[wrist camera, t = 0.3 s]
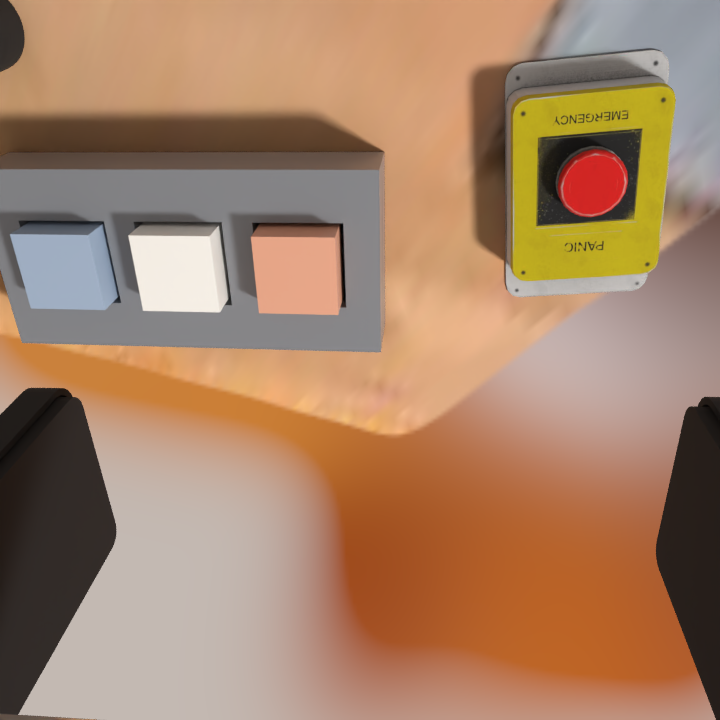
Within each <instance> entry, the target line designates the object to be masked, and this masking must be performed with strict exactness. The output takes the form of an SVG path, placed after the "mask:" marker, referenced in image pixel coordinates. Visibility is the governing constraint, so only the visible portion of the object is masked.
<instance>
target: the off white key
mask: <svg viewBox="0 0 720 720" xmlns="http://www.w3.org/2000/svg"><path fill="white" fill-rule="evenodd" d="M128 237H129V242H130V247H131V252H132V257H133V262H134V267H135V272H136V277H137V282H138V287H139V293H140V298H141V303H142V308H143V311H173V312H221V310H222V308H223V307H224V305H225V303H226V302H227V300H228V299H229V297H230V295H231V293H230V286H229V278H228V270H227V262H226V254H225V246H224V238H223V230H222V222H143V223H142V224H141V225H140V226H139V227H137V228H136V229H135V230H134V231H133V232H132V233H131V234H129V235H128Z"/></svg>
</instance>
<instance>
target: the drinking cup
mask: <svg viewBox="0 0 720 720" xmlns="http://www.w3.org/2000/svg"><path fill="white" fill-rule="evenodd" d="M23 48H24V30H23V26H22V23H21V20H20V17H19V15H18V13H17V11H16V10H15V8H14V7H13V5H12V4H11V3H10V2H9V1H8V0H0V72H1V71H3V70H5V69H8V68H10V67H11V66H13V65H14V64H15V63H16V62H17V61H18V59H19V58H20V56H21V54H22V52H23Z"/></svg>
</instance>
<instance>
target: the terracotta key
mask: <svg viewBox="0 0 720 720" xmlns="http://www.w3.org/2000/svg"><path fill="white" fill-rule="evenodd" d="M251 243H252V252H253V262H254V271H255V281H256V290H257V300H258V309H259V313H268V314H315V315H338V314H339V310H340V307H341V303H342V300H343V296H344V287H343V260H342V233H341V223H260V224H259V226H258V227H257V229H256V230H255V231H254V233H253V234H252V236H251Z"/></svg>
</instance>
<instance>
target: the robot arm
mask: <svg viewBox="0 0 720 720" xmlns="http://www.w3.org/2000/svg"><path fill="white" fill-rule="evenodd" d="M115 539H116V523H115V519H114V516H113V512H112V509H111V505H110V502H109V498H108V494H107V491H106V487H105V484H104V480H103V476H102V473H101V469H100V466H99V462H98V459H97V455H96V451H95V448H94V444H93V441H92V437H91V433H90V430H89V426H88V423H87V419H86V416H85V412H84V408H83V405H82V403H81V401H80V400H79V399H78V398H76V397H72V395H71V393H70V392H69V391H68V390H66V389H64V388H28V389H26V390H25V391H23V392H22V394H20V395H19V396H18V398H16V399H15V400H14V402H13V403H12V404H10V406H9V407H8V408H6V410H5V411H4V412H3V413H2V414H1V415H0V720H95V719H77V718H61V717H44V716H28V715H18V714H19V712H20V710H21V708H22V706H23V705H24V703H25V701H26V699H27V697H28V696H29V694H30V692H31V691H32V689H33V687H34V685H35V684H36V682H37V680H38V678H39V676H40V675H41V673H42V671H43V670H44V668H45V666H46V664H47V662H48V661H49V659H50V657H51V655H52V654H53V652H54V650H55V648H56V647H57V645H58V643H59V641H60V639H61V638H62V636H63V634H64V632H65V631H66V629H67V627H68V625H69V624H70V622H71V620H72V618H73V616H74V615H75V613H76V611H77V609H78V608H79V606H80V604H81V602H82V600H83V599H84V597H85V595H86V594H87V592H88V590H89V588H90V586H91V585H92V583H93V581H94V579H95V578H96V576H97V574H98V572H99V571H100V569H101V567H102V565H103V563H104V562H105V560H106V558H107V556H108V555H109V553H110V551H111V549H112V547H113V545H114V542H115ZM656 557H657V564H658V567H659V571H660V573H661V576H662V578H663V581H664V583H665V586H666V589H667V592H668V594H669V597H670V599H671V602H672V605H673V607H674V610H675V613H676V615H677V617H678V621H679V623H680V626H681V628H682V631H683V633H684V636H685V639H686V642H687V644H688V647H689V649H690V652H691V655H692V657H693V660H694V663H695V665H696V668H697V671H698V673H699V676H700V678H701V681H702V684H703V686H704V689H705V692H706V694H707V697H708V699H709V702H710V705H711V707H712V710H713V713H714V715H715V718H716V720H720V397H704V398H702V399H701V401H700V402H699V404H698V407H689V408H688V409H687V410H686V413H685V416H684V420H683V425H682V429H681V434H680V438H679V443H678V447H677V452H676V456H675V461H674V466H673V470H672V475H671V479H670V484H669V488H668V493H667V497H666V502H665V506H664V511H663V515H662V520H661V525H660V529H659V534H658V538H657V544H656Z"/></svg>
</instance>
